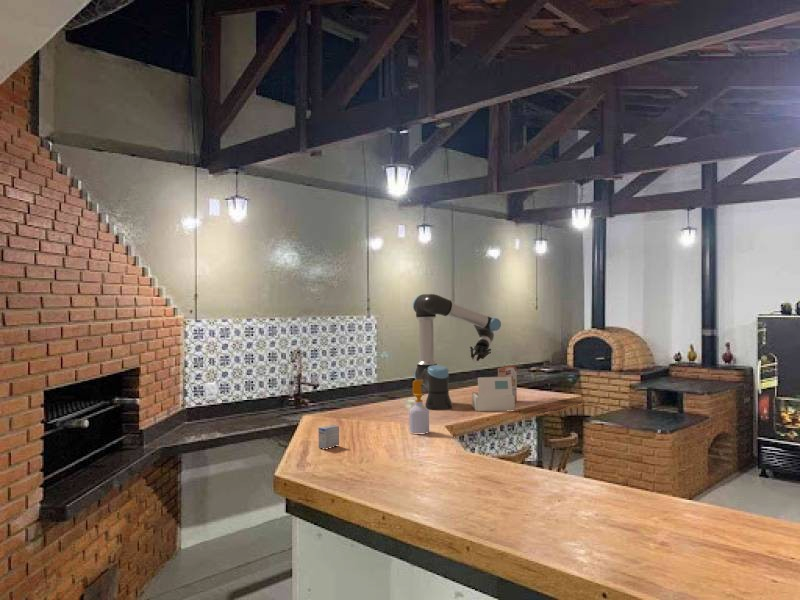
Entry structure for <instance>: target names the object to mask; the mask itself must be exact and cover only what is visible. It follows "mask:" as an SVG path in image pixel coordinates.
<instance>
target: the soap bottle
mask: <svg viewBox="0 0 800 600" xmlns="http://www.w3.org/2000/svg"><path fill="white" fill-rule="evenodd" d="M422 381H424V380H415V379H414V380H413V381H412V394H413V395H414V396H415V398H416V400H415V401H414V404H415V405H413V406H412V407H411V408H410V409H409V411H408V412H409V413H408V415H409V416H408V417H409V420H408V422H409V423H408V425H409V433H410V432H412V433H426V432H429V433H430V411H429V410H430V409H427V408H426V407H425V405H423V400H422V399H421V398H422V397H423V396H425V394H424V393H423V392H422V385H421V382H422Z"/></svg>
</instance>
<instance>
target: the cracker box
mask: <svg viewBox="0 0 800 600" xmlns="http://www.w3.org/2000/svg"><path fill="white" fill-rule="evenodd" d="M517 370H518V369H517V366H513V365H512V366H511V365H510V366H509V365H508V366H502V367H498V368H497V377H511V380H512V394H513V395H514V396H515V402H518V401H517V399H518V396H517V394H518V392H517V387H518V385H517V382H518V380H517V377H518V375H517Z"/></svg>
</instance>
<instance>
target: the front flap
mask: <svg viewBox="0 0 800 600" xmlns="http://www.w3.org/2000/svg"><path fill="white" fill-rule="evenodd" d="M477 388H478V391H477V392H479V396H505V395H513V394H512V380H511V377H498V376H492V377H491V376H489V377H487V376H485V377H483V376H482V377H477Z"/></svg>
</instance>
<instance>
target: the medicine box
mask: <svg viewBox="0 0 800 600" xmlns="http://www.w3.org/2000/svg"><path fill="white" fill-rule="evenodd" d="M317 429H318V449H319V448H324V449H326V448H329V447H333V446H336V445H339V446H340V426H339V425H334V424H329V425H325V426H322V427H319V428H317Z"/></svg>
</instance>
